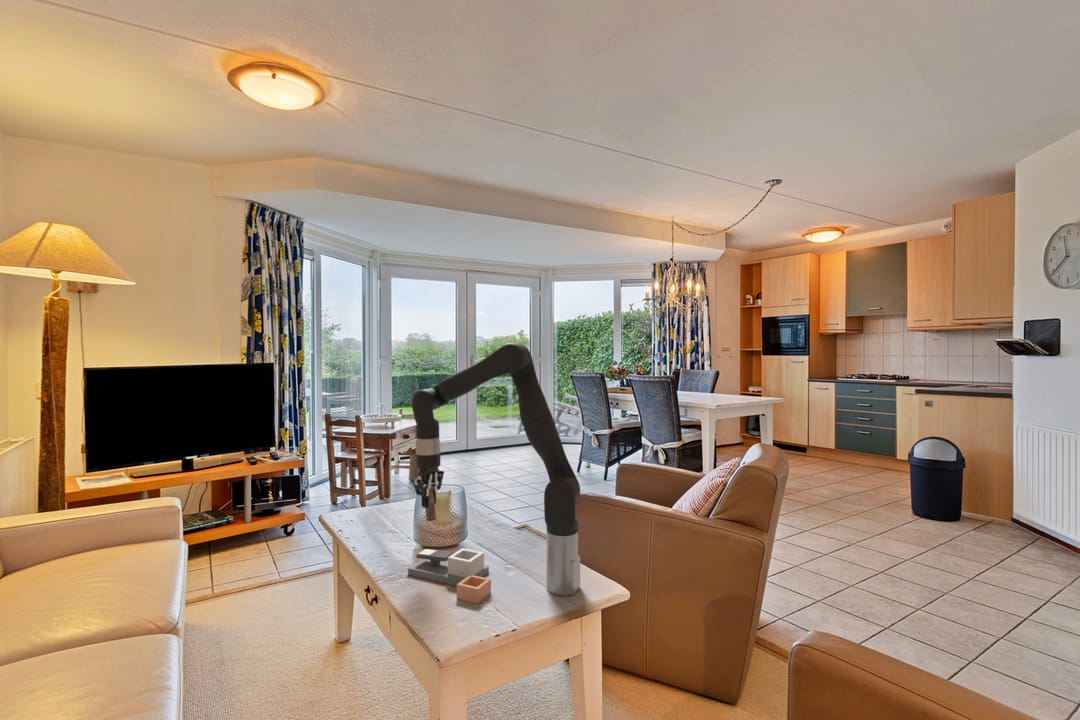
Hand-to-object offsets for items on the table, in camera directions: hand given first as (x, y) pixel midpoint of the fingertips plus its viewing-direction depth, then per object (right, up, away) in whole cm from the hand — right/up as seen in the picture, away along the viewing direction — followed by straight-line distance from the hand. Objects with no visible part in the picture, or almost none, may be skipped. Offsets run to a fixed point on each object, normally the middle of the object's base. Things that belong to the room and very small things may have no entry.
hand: (429, 505), depth 166 cm
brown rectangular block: (+1, -4, 0) cm, 4 cm away
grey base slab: (+7, -21, -2) cm, 22 cm away
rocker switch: (+2, -16, 0) cm, 16 cm away
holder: (+16, -21, -16) cm, 31 cm away
